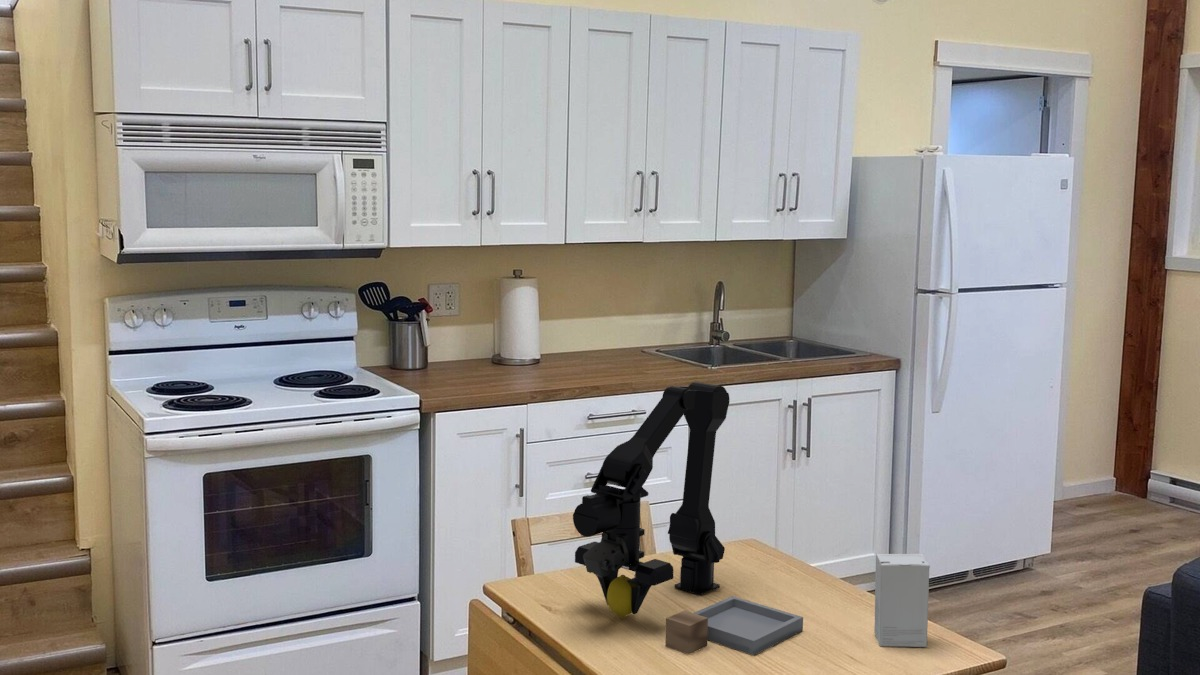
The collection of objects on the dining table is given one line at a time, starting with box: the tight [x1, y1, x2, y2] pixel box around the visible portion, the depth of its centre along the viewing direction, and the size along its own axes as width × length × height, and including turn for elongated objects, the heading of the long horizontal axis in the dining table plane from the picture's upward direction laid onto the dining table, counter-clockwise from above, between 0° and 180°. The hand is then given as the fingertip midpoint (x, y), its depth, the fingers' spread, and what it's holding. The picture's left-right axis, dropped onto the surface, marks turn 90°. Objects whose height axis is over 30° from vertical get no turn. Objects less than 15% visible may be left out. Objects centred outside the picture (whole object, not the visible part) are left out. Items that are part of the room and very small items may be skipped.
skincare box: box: [873, 553, 931, 648], centre depth 202 cm, size 8×6×15 cm
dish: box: [693, 595, 804, 656], centre depth 206 cm, size 15×15×2 cm
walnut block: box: [665, 610, 708, 655], centre depth 199 cm, size 5×5×5 cm
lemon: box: [606, 574, 632, 619], centre depth 211 cm, size 6×6×8 cm
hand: (622, 609), depth 211 cm, fingers closed on lemon, 5 cm apart
